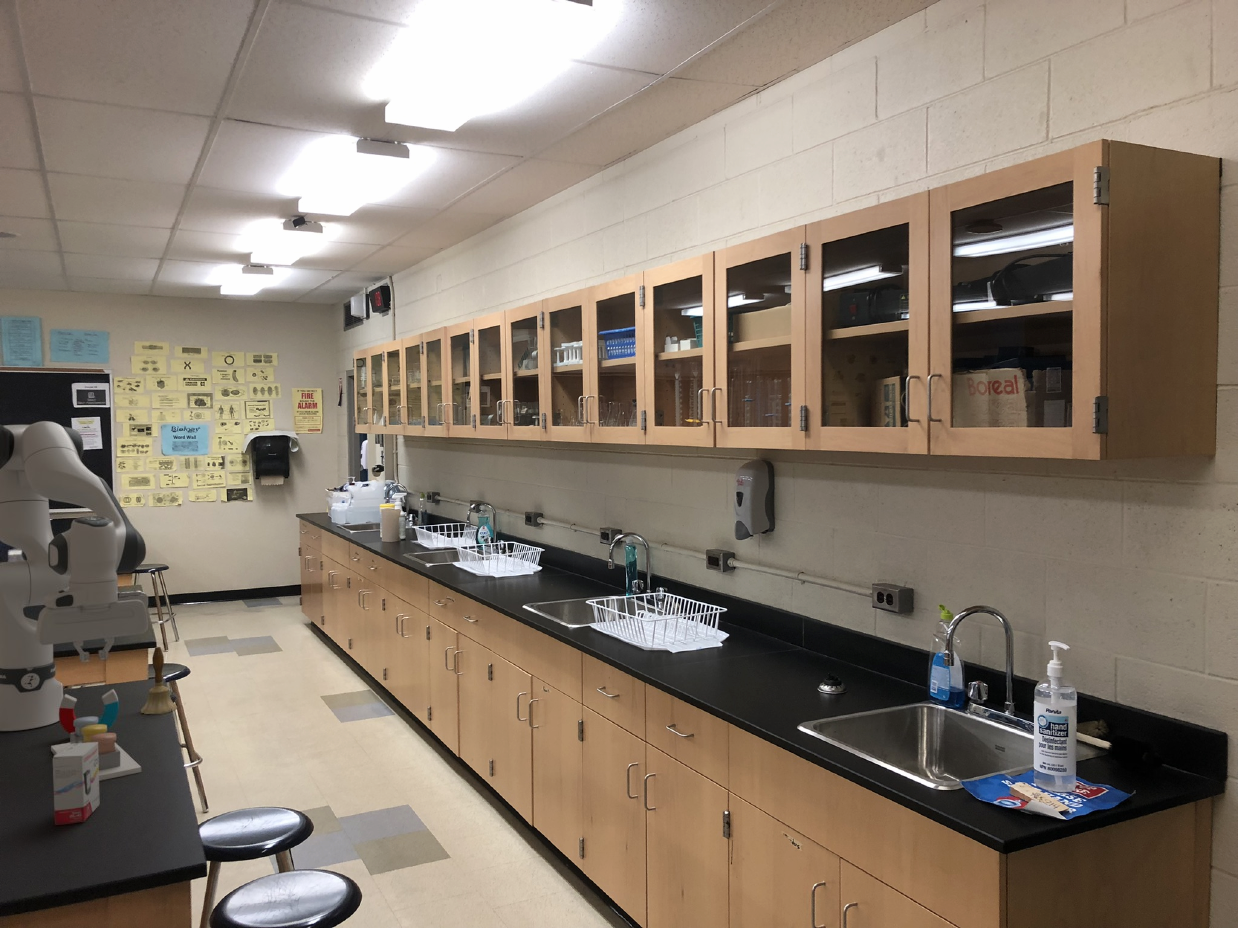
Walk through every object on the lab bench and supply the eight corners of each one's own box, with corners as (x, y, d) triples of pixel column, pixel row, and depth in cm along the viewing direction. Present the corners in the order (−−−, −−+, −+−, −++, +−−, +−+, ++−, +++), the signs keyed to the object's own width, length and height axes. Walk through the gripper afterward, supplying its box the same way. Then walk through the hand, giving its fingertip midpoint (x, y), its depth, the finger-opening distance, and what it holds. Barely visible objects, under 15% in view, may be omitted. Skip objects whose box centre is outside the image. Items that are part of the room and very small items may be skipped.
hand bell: (166, 714, 223) (166, 650, 223) (133, 714, 224) (133, 650, 224) (183, 705, 232) (183, 643, 232) (151, 705, 232) (151, 643, 232)
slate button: (71, 739, 195) (71, 719, 195) (95, 735, 198) (95, 715, 198) (76, 744, 192) (76, 723, 192) (100, 740, 195) (100, 719, 195)
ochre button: (79, 748, 189) (79, 727, 189) (104, 743, 192) (104, 722, 192) (84, 753, 186) (84, 732, 186) (109, 749, 189) (109, 727, 189)
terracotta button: (88, 757, 183) (87, 735, 183) (113, 752, 186) (113, 731, 186) (93, 763, 180) (93, 740, 180) (118, 758, 183) (118, 736, 183)
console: (51, 750, 196) (51, 732, 196) (108, 739, 203) (107, 722, 203) (78, 784, 175) (78, 764, 175) (141, 771, 182) (141, 752, 182)
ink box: (84, 823, 156) (83, 755, 156) (51, 826, 155) (51, 757, 155) (100, 805, 165) (100, 740, 165) (70, 807, 164) (69, 742, 163)
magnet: (118, 731, 210) (118, 688, 210) (118, 734, 208) (118, 690, 207) (59, 738, 204) (59, 694, 204) (58, 741, 202) (58, 697, 202)
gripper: (144, 588, 198) (144, 650, 198) (34, 597, 185) (34, 664, 185) (152, 591, 193) (152, 655, 193) (40, 601, 180) (40, 670, 180)
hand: (94, 660), depth 189 cm, fingers open, 2 cm apart
